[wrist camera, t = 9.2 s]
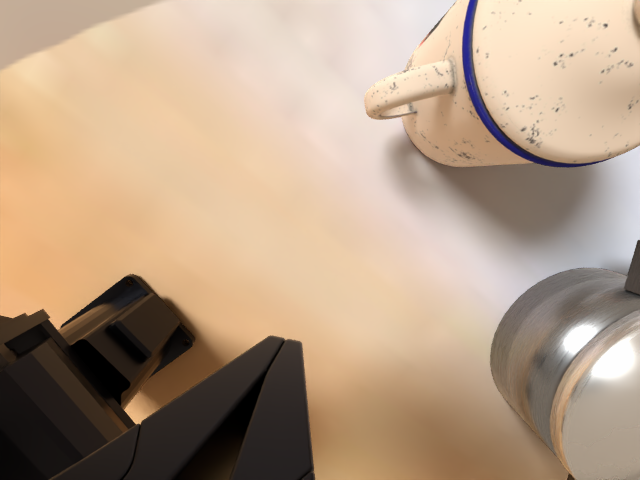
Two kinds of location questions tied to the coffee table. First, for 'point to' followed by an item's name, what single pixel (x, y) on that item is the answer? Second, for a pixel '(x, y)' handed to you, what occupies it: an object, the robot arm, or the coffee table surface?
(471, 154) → the teacup with lid
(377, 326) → the coffee table surface
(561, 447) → the lid
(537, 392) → the pot
